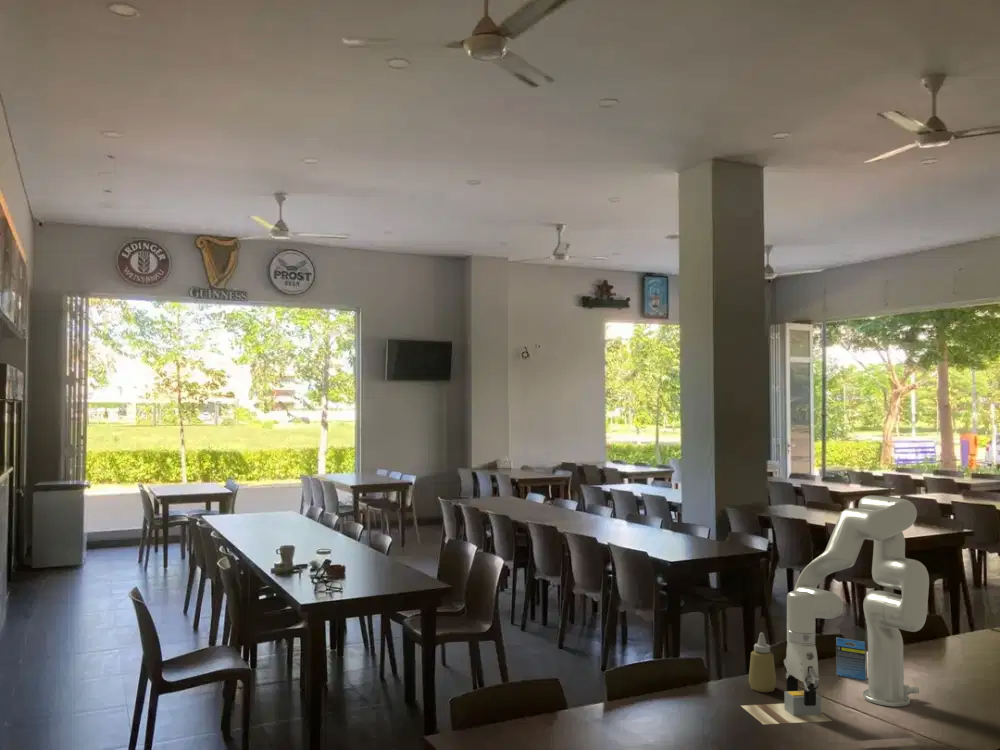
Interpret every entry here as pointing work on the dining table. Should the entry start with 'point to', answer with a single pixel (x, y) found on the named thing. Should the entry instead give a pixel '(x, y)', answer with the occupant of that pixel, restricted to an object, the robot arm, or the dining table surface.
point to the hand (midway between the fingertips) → (800, 699)
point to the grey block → (800, 704)
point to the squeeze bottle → (762, 667)
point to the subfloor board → (780, 714)
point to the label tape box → (851, 659)
